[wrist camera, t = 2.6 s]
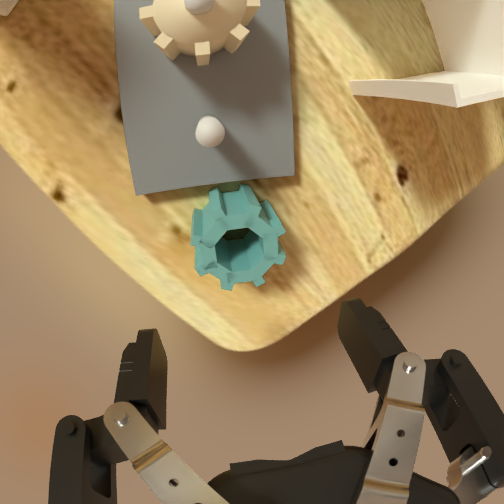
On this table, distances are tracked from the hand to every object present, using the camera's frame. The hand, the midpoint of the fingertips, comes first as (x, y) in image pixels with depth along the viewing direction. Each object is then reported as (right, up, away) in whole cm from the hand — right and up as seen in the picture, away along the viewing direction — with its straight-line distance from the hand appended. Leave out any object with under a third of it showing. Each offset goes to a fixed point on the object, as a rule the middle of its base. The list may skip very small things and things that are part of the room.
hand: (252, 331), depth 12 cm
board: (-3, +15, +5) cm, 16 cm away
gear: (-1, +6, +10) cm, 12 cm away
